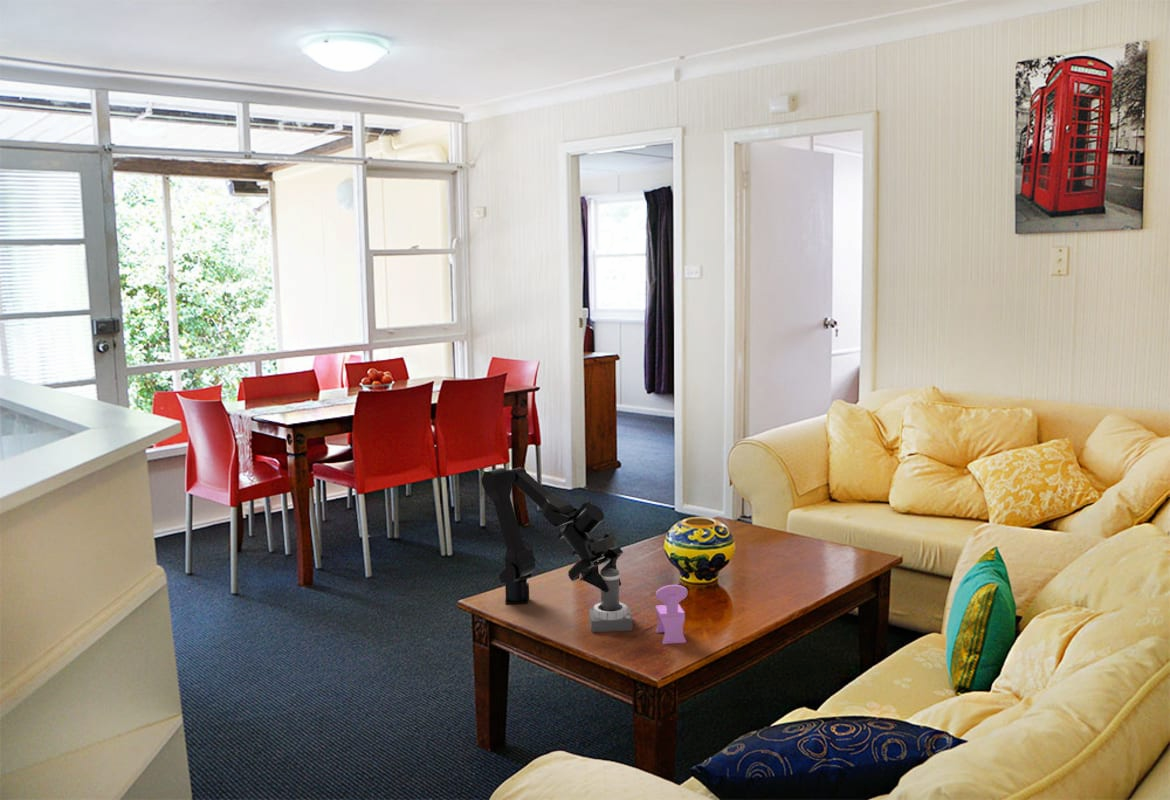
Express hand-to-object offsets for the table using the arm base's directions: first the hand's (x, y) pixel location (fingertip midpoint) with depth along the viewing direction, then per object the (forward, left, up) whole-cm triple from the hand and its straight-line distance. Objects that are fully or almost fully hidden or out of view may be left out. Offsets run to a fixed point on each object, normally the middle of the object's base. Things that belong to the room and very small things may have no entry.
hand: (614, 588), depth 257 cm
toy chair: (+14, -9, -11) cm, 20 cm away
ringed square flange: (-1, +1, -10) cm, 11 cm away
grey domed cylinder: (-1, +1, -7) cm, 8 cm away
